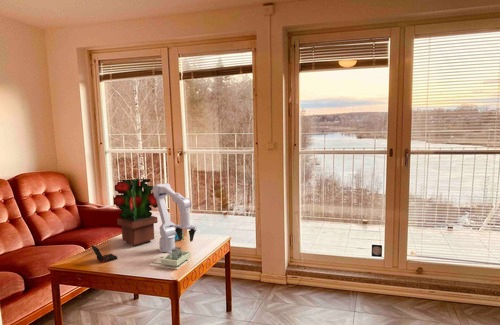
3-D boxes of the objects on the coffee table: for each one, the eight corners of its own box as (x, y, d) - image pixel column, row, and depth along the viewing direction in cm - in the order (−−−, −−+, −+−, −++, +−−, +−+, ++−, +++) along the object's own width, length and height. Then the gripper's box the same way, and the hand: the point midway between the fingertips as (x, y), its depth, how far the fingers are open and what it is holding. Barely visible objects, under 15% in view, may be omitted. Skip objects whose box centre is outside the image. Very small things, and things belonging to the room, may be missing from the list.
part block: (171, 259, 194) (171, 249, 194) (175, 256, 198) (175, 247, 197) (177, 260, 193) (177, 250, 192) (181, 257, 196) (181, 247, 196)
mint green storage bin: (161, 265, 190) (161, 259, 189) (176, 256, 204) (176, 250, 204) (176, 268, 186) (176, 261, 186) (190, 258, 200) (190, 251, 200)
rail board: (149, 265, 193) (149, 263, 193) (163, 256, 206) (163, 255, 206) (177, 269, 187) (177, 267, 187) (190, 260, 200) (190, 258, 200)
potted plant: (115, 243, 235) (112, 180, 231) (143, 235, 252) (140, 176, 248) (132, 250, 221) (128, 182, 217) (161, 241, 237) (158, 178, 233)
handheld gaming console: (117, 259, 205) (117, 243, 204) (97, 265, 196) (96, 248, 195) (111, 255, 211) (110, 240, 211) (91, 261, 203) (90, 245, 202)
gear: (167, 237, 240) (175, 226, 245) (171, 241, 244) (179, 230, 249) (177, 242, 234) (185, 230, 238) (181, 246, 238) (189, 234, 242)
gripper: (171, 219, 202) (172, 241, 204) (192, 221, 197) (193, 243, 198) (177, 216, 209) (178, 237, 210) (198, 218, 204) (198, 240, 205)
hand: (186, 240), depth 205 cm, fingers open, 7 cm apart
